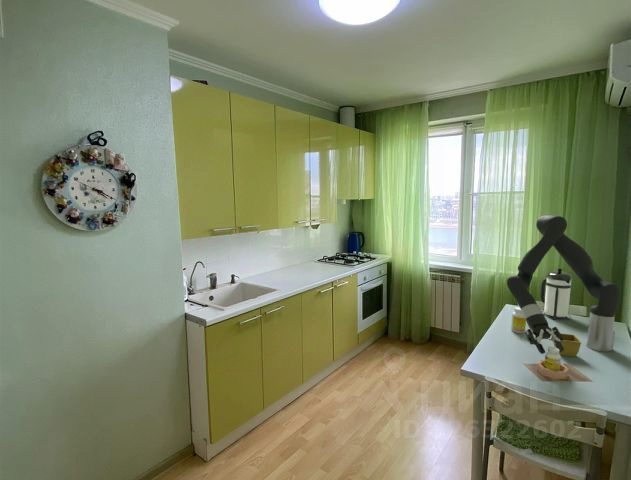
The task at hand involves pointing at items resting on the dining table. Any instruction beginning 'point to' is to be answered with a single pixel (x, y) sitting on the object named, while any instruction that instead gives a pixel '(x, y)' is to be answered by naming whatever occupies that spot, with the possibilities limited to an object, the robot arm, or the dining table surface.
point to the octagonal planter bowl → (550, 373)
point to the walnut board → (572, 376)
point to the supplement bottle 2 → (552, 359)
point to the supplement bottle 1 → (518, 321)
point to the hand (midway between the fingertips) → (552, 352)
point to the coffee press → (556, 293)
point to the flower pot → (570, 345)
